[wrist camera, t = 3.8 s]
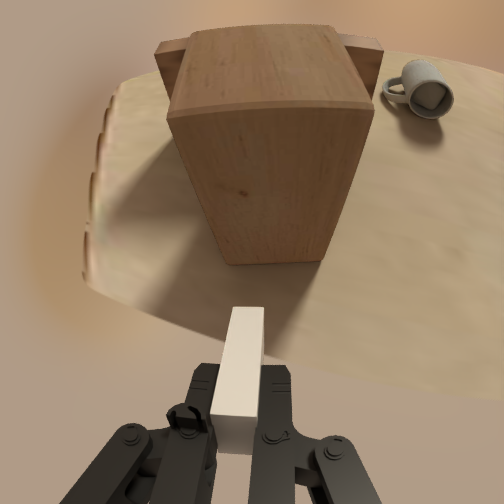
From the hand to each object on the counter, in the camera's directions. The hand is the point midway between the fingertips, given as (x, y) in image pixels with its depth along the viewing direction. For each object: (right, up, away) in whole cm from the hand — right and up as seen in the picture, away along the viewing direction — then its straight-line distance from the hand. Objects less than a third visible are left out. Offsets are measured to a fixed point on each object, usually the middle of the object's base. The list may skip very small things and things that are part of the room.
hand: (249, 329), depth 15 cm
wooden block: (+2, +7, +18) cm, 19 cm away
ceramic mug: (+26, +28, +25) cm, 46 cm away
